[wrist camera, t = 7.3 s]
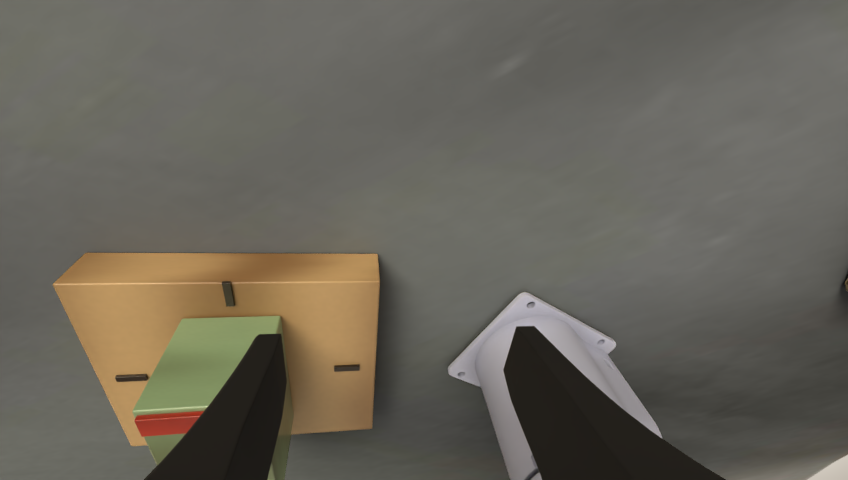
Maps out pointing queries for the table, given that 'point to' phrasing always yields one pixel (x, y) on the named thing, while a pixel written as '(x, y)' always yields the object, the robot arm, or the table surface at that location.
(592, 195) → the table surface
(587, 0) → the table surface
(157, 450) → the box
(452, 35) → the table surface
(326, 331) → the tan flat block
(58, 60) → the table surface
